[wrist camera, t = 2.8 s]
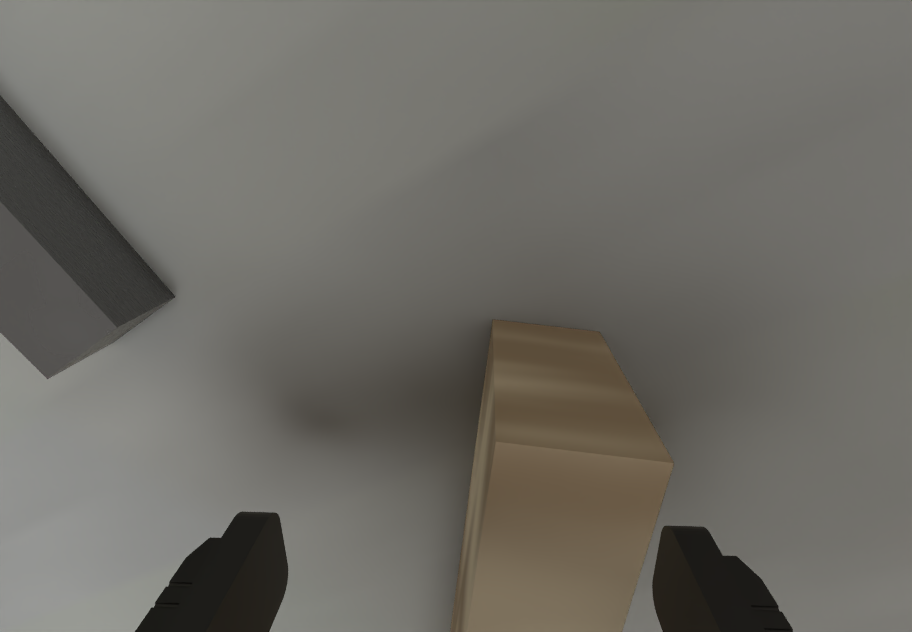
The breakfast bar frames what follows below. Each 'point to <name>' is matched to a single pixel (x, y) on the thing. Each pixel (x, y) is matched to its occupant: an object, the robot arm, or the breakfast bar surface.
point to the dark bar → (62, 260)
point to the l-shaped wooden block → (557, 487)
